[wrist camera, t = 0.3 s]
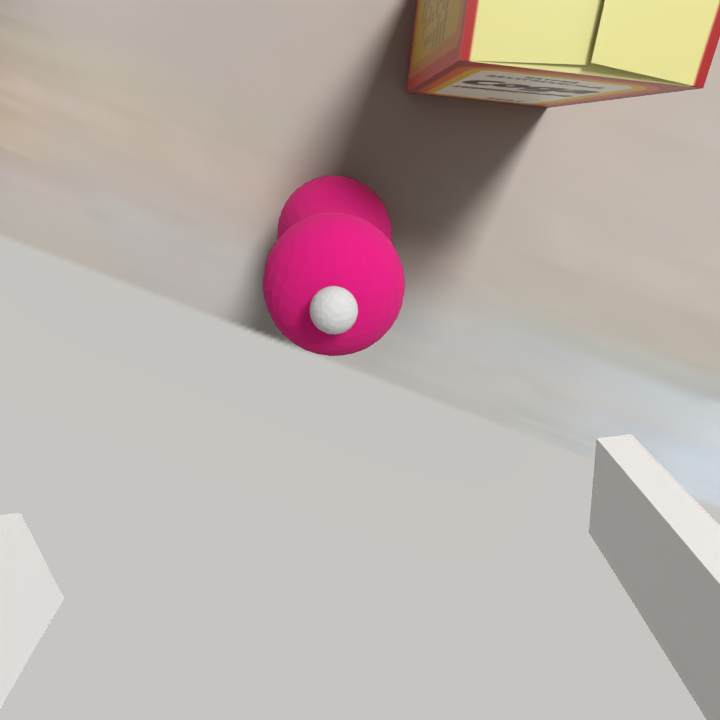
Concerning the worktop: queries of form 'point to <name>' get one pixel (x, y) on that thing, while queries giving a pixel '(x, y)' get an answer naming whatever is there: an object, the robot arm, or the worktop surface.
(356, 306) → the pepper mill
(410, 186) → the worktop surface
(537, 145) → the worktop surface
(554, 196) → the worktop surface
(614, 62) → the baking soda box
